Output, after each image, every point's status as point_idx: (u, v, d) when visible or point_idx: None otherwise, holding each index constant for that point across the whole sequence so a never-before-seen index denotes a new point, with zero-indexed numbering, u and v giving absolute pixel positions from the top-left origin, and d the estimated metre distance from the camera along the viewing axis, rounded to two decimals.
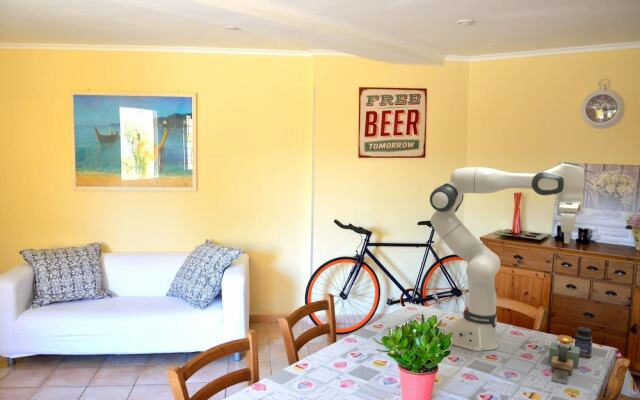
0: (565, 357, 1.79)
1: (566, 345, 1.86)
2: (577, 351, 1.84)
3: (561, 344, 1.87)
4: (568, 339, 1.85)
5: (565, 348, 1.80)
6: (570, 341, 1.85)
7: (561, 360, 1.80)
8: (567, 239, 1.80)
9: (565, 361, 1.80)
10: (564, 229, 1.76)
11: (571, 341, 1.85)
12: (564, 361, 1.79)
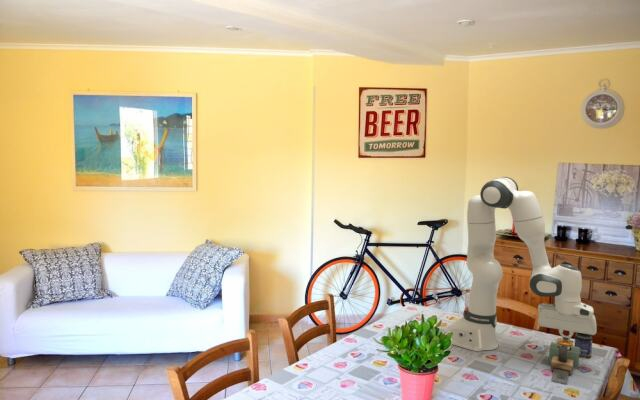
0: (565, 357, 1.79)
1: None
2: (577, 351, 1.84)
3: None
4: (568, 342, 1.86)
5: (565, 348, 1.80)
6: (570, 344, 1.85)
7: (561, 360, 1.80)
8: (570, 337, 1.86)
9: (565, 361, 1.80)
10: None
11: (571, 344, 1.85)
12: (564, 361, 1.79)
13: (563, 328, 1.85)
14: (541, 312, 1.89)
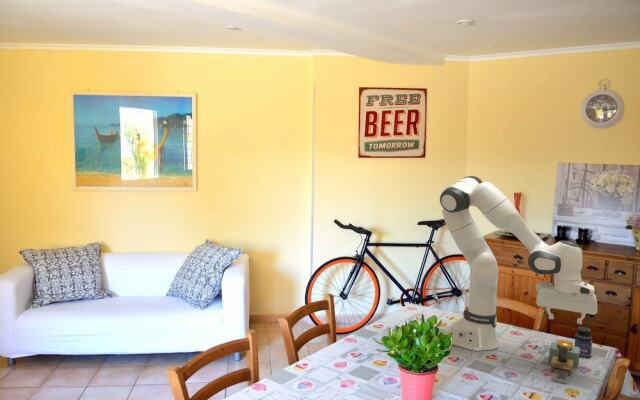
0: (565, 357, 1.79)
1: None
2: (577, 351, 1.84)
3: None
4: (568, 344, 1.86)
5: (565, 348, 1.80)
6: (570, 346, 1.85)
7: (561, 360, 1.80)
8: None
9: (565, 361, 1.80)
10: None
11: (571, 346, 1.85)
12: (564, 361, 1.79)
13: (562, 308, 1.78)
14: (540, 291, 1.81)
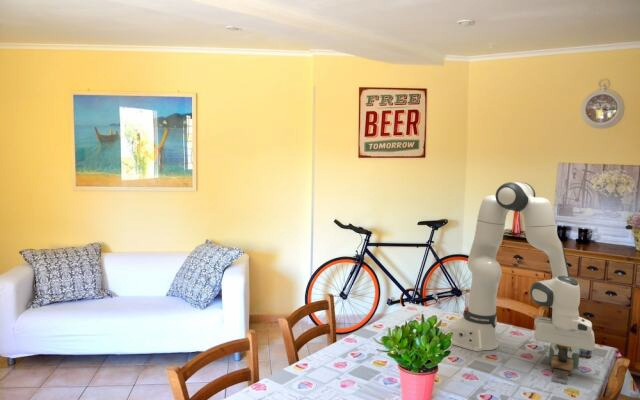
0: (565, 357, 1.79)
1: None
2: (577, 351, 1.84)
3: None
4: None
5: (565, 348, 1.80)
6: None
7: (561, 360, 1.80)
8: (572, 353, 1.79)
9: (565, 361, 1.80)
10: (594, 347, 1.74)
11: None
12: (564, 361, 1.79)
13: (560, 343, 1.79)
14: (538, 326, 1.83)
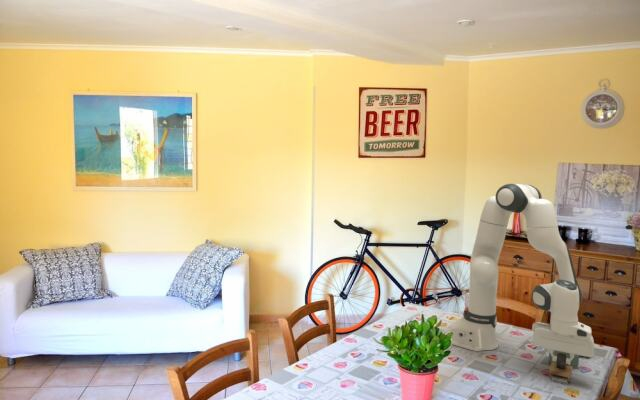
0: (564, 364, 1.74)
1: None
2: None
3: None
4: None
5: (563, 355, 1.74)
6: None
7: (559, 367, 1.74)
8: (570, 360, 1.74)
9: (564, 368, 1.74)
10: None
11: None
12: (563, 368, 1.74)
13: (559, 349, 1.74)
14: (535, 331, 1.77)
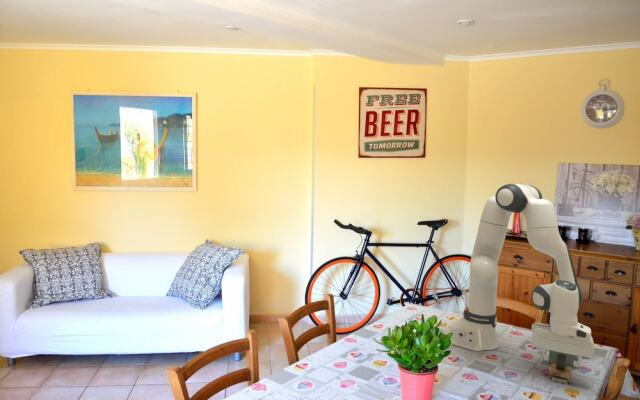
0: (563, 365, 1.73)
1: None
2: None
3: None
4: None
5: (563, 356, 1.73)
6: None
7: (559, 368, 1.73)
8: (578, 362, 1.72)
9: (563, 369, 1.73)
10: (593, 355, 1.68)
11: None
12: (562, 369, 1.73)
13: (558, 350, 1.73)
14: (535, 332, 1.76)
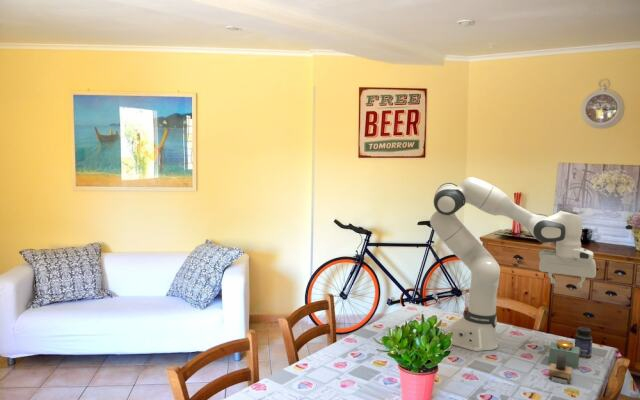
0: (563, 365, 1.73)
1: None
2: (577, 351, 1.84)
3: None
4: (568, 344, 1.86)
5: (563, 356, 1.73)
6: (570, 346, 1.85)
7: (559, 368, 1.73)
8: (581, 283, 1.89)
9: (563, 369, 1.73)
10: (595, 275, 1.85)
11: (571, 346, 1.85)
12: (562, 369, 1.73)
13: (563, 272, 1.90)
14: (542, 257, 1.94)
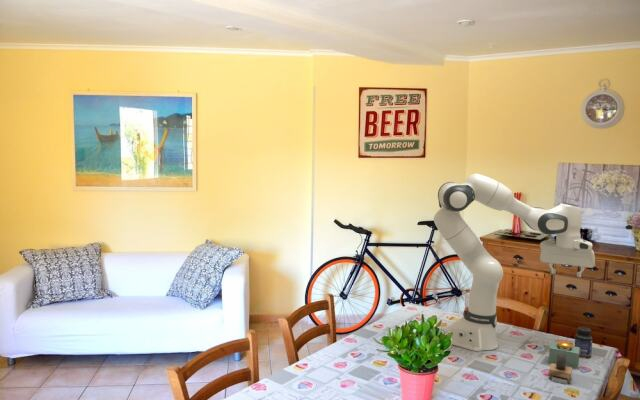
0: (563, 365, 1.73)
1: None
2: (577, 351, 1.84)
3: None
4: (568, 344, 1.86)
5: (563, 356, 1.73)
6: (570, 346, 1.85)
7: (559, 368, 1.73)
8: None
9: (563, 369, 1.73)
10: (594, 264, 1.93)
11: (571, 346, 1.85)
12: (562, 369, 1.73)
13: (564, 263, 1.97)
14: (543, 248, 2.01)
